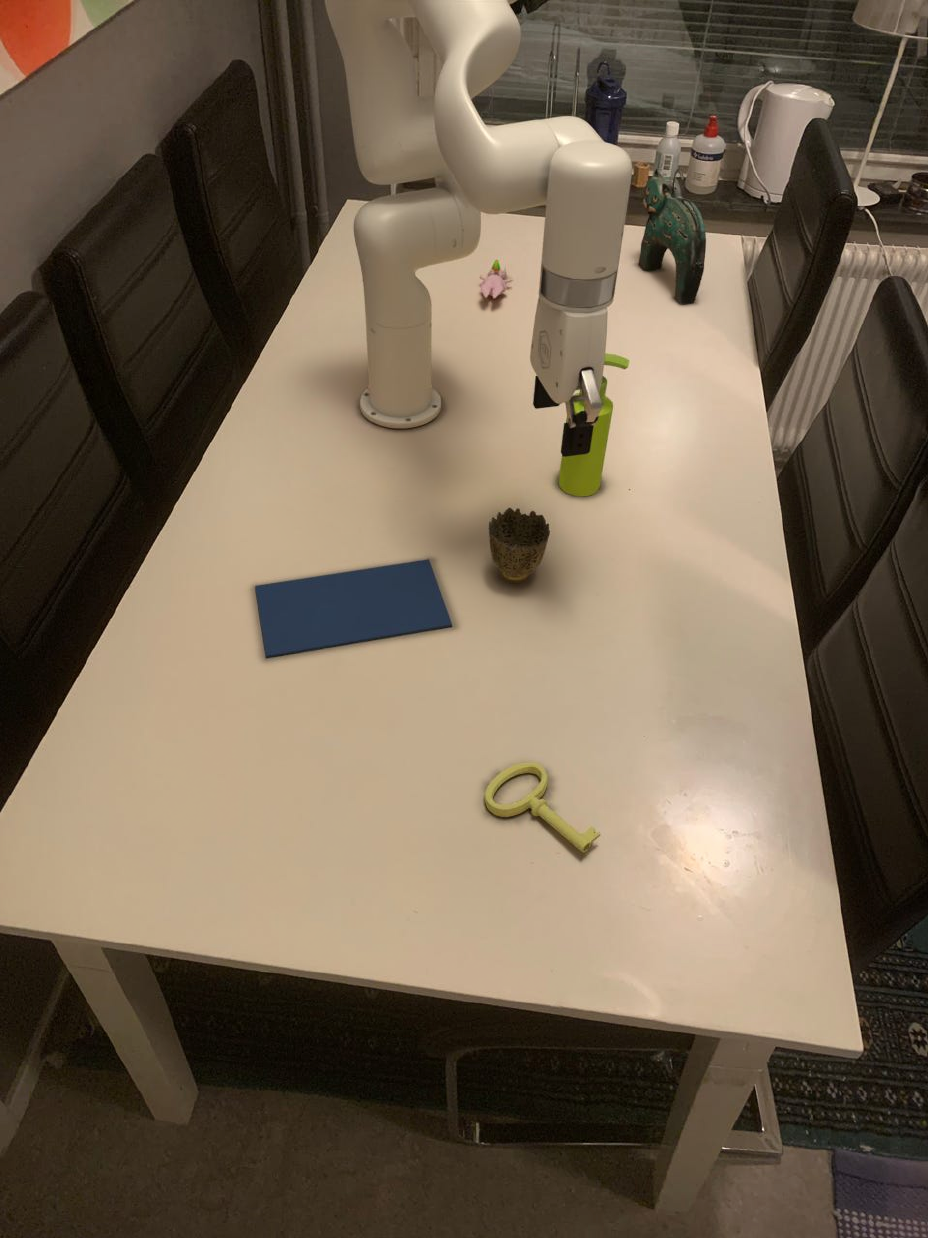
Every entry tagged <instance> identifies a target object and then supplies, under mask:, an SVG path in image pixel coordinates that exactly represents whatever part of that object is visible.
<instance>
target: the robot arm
mask: <svg viewBox="0 0 928 1238" xmlns="http://www.w3.org/2000/svg"><path fill="white" fill-rule="evenodd" d="M517 1H518V0H324V5H325V10H326V13H327V17H328V20H329V23H330V26H331V28H332V31H333V34H334V36H335V39H336V41H337V45H338V47H339V51H340V54H341V57H342V61H343V64H344V72H345V79H346V87H347V97H348V104H349V113H350V121H351V129H352V137H353V145H354V150H355V151H354V152H355V157H356V161H357V165H358V168H359V172H360V173H361V174H362V176H363V178H364V179H366V181H367V182H369V183H371V184H372V185H373V184H374V185H379V186H387V185H398V184H404V183H405V184H406V183H410V182H416V181H421V180H422V181H423V180H428V179H433V178H434V182H435V187H431V188H430V187H429V188H424V189H419V190H411V191H404V192H400V193H399V192H398V193H395V194H389V195H383V196H379V197H377V198H374V199H372V200H370V201H368V202H366V203H365V204H363V205H362V206H361V207H360V208H359V209H358V210H357V212H356V214H355V216H354V220H353V237H354V242H355V246H356V251H357V257H358V261H359V266H360V271H361V276H362V277H361V279H362V287H363V298H364V314H365V315H364V316H365V330H366V331H365V333H366V353H367V354H366V355H367V369H368V370H367V374H368V375H367V376H368V388H366V389H365V390H364V391H363V393H361V395H360V398H359V410H360V412H361V415H362V416H363V417H364V418H366V419H367V420H368V421H370V422H371V423H373V424H375V425H377V426H381V427H385V428H388V429H389V428H390V429H413V428H416V427H421V426H423V425H426V424H429V422H432V421H433V420H434V419H436V418H437V417H438V416H439V414H440V413H441V410H442V397H441V396H440V393H438V391H437V390H436V389H434V388H433V387H432V347H433V346H432V345H433V344H432V343H433V342H432V338H433V337H432V335H433V334H432V331H433V329H432V328H433V327H432V325H433V316H432V315H433V312H432V311H433V310H432V306H433V305H432V298H431V293H430V291H429V290H428V288H427V286H426V285H425V284H424V282H422V280H421V279H420V278H418V277H417V276H416V275H417V274H416V272H417V271H418V270H419V269H422V268H427V267H429V266H434V265H435V266H436V265H439V264H443V263H444V264H445V263H449V262H453V261H457V260H461V259H464V258H466V257H468V256H471V254H473V253H475V251H476V249H477V248H478V246H479V243H480V239H481V232H482V213H483V214H486V215H500V214H507V213H511V212H517V211H522V210H526V209H531V208H536V207H541V206H542V207H543V206H545V215H544V226H543V237H542V238H543V239H542V249H541V250H542V251H541V261H540V272H539V282H538V283H539V285H538V298H537V304H536V309H535V315H534V322H533V329H532V337H531V345H530V351H529V353H530V354H529V361H530V365H531V368H532V370H533V372H534V373H535V378H534V388H533V400H532V406H533V408H534V409H536V410H538V409H539V410H540V409H548V408H554V407H555V408H556V407H559V406H560V405H562V404H564V405H565V412H566V418H567V420H568V422H567V423H566V422H564V423H563V428H562V429H563V430H562V437H561V446H560V454H561V457H562V456H563V457H567V456H575V455H582V454H588V453H589V452H590V447H591V441H592V434H593V427H594V425H595V424H596V421H597V420H598V418H599V416H598V415H599V413H600V411H601V410H602V401H601V398H600V394H599V392H600V388H601V383H602V377H603V376H604V369H605V365H604V361H605V353H606V350H607V349H606V348H607V338H608V337H607V334H608V315H609V314H608V313H609V312H608V311H609V310H608V308H609V307H610V306H611V305H612V304H613V302H614V298H615V294H616V293H615V291H616V285H617V284H616V283H617V278H618V271H619V264H620V259H621V253H622V246H623V245H622V244H623V238H624V231H625V226H626V225H625V224H626V217H627V211H628V205H629V198H630V191H631V185H632V178H633V177H632V175H633V164H632V163H633V162H632V160H631V157H630V155H629V153H628V152H626V151H625V150H624V148H622V147H620V146H618V145H615V144H613V143H609V142H606V141H604V140H603V138H602V137H601V136H600V135H599V134H598V133H597V131H596V130H595V129H594V128H593V126H591V125H590V124H589V123H588V122H587V121H586V120H585V119H582V118H581V117H577V116H572V115H564V116H563V115H562V116H556V117H549V118H541V119H532V120H525V121H519V122H512V123H506V124H501V125H495V126H487V125H486V123H484V121H483V119H482V117H481V116H480V114H479V112H478V111H477V109H476V107H475V105H474V103H473V100H472V99H474V98H475V97H476V96H478V95H479V94H481V93H482V92H483V91H485V90H486V89H487V88H488V87H489V86H491V85H493V84H494V83H495V82H496V81H497V80H498V79H499V78H500V77H502V76H503V75H504V74H505V72H507V70H508V69H509V68H510V67H511V66H512V64H513V62H514V60H515V58H516V57H517V54H518V52H519V49H520V45H521V42H522V41H521V39H522V30H521V25H520V22H519V20H518V17H517V15H516V14H515V12H514V10H513V9H512V7H511V4H514V3H515V2H517ZM404 18H405V19H407V18H416V19H417V21H418V23H419V24H420V27H421V29H422V30H423V33H424V34H425V36H426V38H427V40H428V42H429V44H430V45H431V47H432V49H433V51H434V53H435V55H436V57H437V58H438V60H439V62H440V64H441V66H442V68H441V70H440V73H439V75H438V79H437V82H436V86H435V90H434V93H433V94H425V95H419V94H418V90H417V82H416V68H415V60H414V55H413V52H412V51H411V48H410V46H409V44H408V43H407V41H406V39H405V38H404V36H403V34H402V33H401V32H400V30H399V29H398V28H397V26H395V24H394V22H392V19H393V20H395V19H404ZM580 390H582V393H583V395H576V396H573V395H575V394H574V393H575V392H576V391H580ZM577 402H585V406H584V411H580V412H579V413H577V414H576V415H575V408H574V403H577Z"/></svg>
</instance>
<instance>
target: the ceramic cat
mask: <svg viewBox="0 0 928 1238" xmlns="http://www.w3.org/2000/svg"><path fill="white" fill-rule="evenodd" d="M677 173H679V176H680V179H681V181H682V182H684V181H685V177H684V174H683V171H682V169H680V168H676V169H675V172H674V175H673V176H663V175H662V174H661V173H660V171H659V169H658V168H655V171H654V173H653V176H652V177H651V178H649V179H648V180H647V181H646V183H645V187H644V192H643V199H642V204H643V208H644V210H645V211H646V213H647V214H648V217H647V220H646V223H645V228H644V231H643V237H642V240H641V243H640V253H639V257H638V258H639V259H638V266H639V268H641V269H642V270H643V271H645V272H654V271H661V270H662V267H663V261H664V257H665V255H666V252H667V250H669V251H670V252H671V255H672V257H673V259H674V263H675V285H674V286H675V287H674V300H675V301H676V302H677V303H678V304H680V305H688V304H693V303H695V301H696V298H697V295H698V292H699V289H700V286H701V282H702V280H703V275H704V271H705V260H706V251H707V250H706V249H707V235H706V233H707V232H706V226H705V223H704V219H703V217H702V214H701V212H700V210H699V209H698V208H697V206H696V205H695V203H694V202H693V201H691V199H688V198H684V197H683V196H682V191H681V186H680V183H679V181H678V179H677V178H676V177H677V176H676V175H677Z"/></svg>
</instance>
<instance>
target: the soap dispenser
mask: <svg viewBox="0 0 928 1238" xmlns="http://www.w3.org/2000/svg"><path fill="white" fill-rule="evenodd" d="M604 366H607V367H608V366H610V367H616V368H618V369H622V370H626V369H628V368H629V366H630V359H628V358H626V357H623V356H621V355H617V354H613V353H606V352H605V361H604ZM607 387H608V378H606V377H605V376H604V375H603V377H602V383H601V388H600V392H599V394H600V398H601V401H602V410H601V411H600V413H599V415H598V416H599V418H598V420H597V421H596V424H595V425H594V427H593V434H592V441H591V447H590V452H589V453H588V454H582V455H575V456H567V457H563V456H562V455H561V459H560V465H559V466H560V467H559V475H558V486H559V488H560V489H561V490H562V491H563V492H564V493H565V494H568V495H571V496H573V497H574V496H575V497H588V496H592V495H595V494H596V493H597V492H598V491H599V490H600V487H601V482H602V476H603V471H604V465H605V458H606V452H607V446H608V439H609V436H610V435H609V434H610V428H611V422H612V416H613V411H614V410H613V409H614V403H613V401H612V399H610V398H609V397H608V396H607V395H606V394H607ZM576 395H583V393H582V390H579V392H578V393H577V392H576V393H575V394H573V396H576ZM584 406H585V402H577V403H574V408H575V415H576V414H577V413H579V412H580V411H584ZM567 422H568V420H567V417H566V419H565V423H567Z"/></svg>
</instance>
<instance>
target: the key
mask: <svg viewBox="0 0 928 1238" xmlns="http://www.w3.org/2000/svg"><path fill="white" fill-rule="evenodd" d="M522 774H533V775H536V776H537V777H538V778H539V780H540V781H539V783H538V784H537V786H536V787H535V788H534V789H533V790H532V791H531V792H530V793H529V794H528V795H526V796H525V797H523V798H522V799H520V800H518V801H516V802H514V803H513V802H512V803H509V804H499V803H497V802H496V801H494V795H495V793H496V792H497V791H498V789H499V788H500V787H501V786H502V785H503V784H504V783H505V782H506V781H508V780H509V779H512V778H513V777H515V776H518V775H522ZM548 783H549V778H548V773H547V771H546V769H545V768H544V767H543V766H542V765H541V764H539V763H537V762H534V761H533V762H531V761H525V762H520V763H516V764H514V765H511V766H509V767H507V768H506V769H504V770H502V771H501V772H500V773H498V774H497V775H496V776H494V778H493V779H492V780H491V781H490V782H489V783H488V786H487V787H486V789H485V791H484V795H483V799H484V803H485V806H486V808H487V810H488V811H489V812H490V813H492V814H493V815H494V816H497V817H501V818H508V817H513V816H516V815H519V814H521V813H524V812H526V811H527V810H529V809H531V811H530V813H531V815H532V816H533V817H540V818H541V819H542V820H544V821H545V822H546V823H547V824H549V825H550V826H551V827H552V828H553V829H555V831H557V832H558V833H559V834H560V835H562V836H563V837H564V838H565V839H566V840H567V841H569V842H570V844H572V845H573V846H574V847H576V848H577V849H578V850H580V852H582V853H586V852H587V851H588V850H589V849H590V848H591V846H592V843H594V842H595V841H596V840H597V839H598V838H600V837H601V833H602V832H600V831H597V832H596V828H595V827H594V826H590V827H589V828H588V829H587V830H585V831H584V832H583V833H582V834H581V833H580V832H579V831H578V830H576V829H575V828H574V827H573V826H572V825H570V824H569V823H568V822H567V821H565V819H563V818H562V817H561V816H559V815H558V814H557V813H556V812H555V811H554V810H552V809H551V808H550V807H549V806H548V801H547V799H544V798H542V797H543V795H544V794H545V792H546V789H547V787H548Z"/></svg>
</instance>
